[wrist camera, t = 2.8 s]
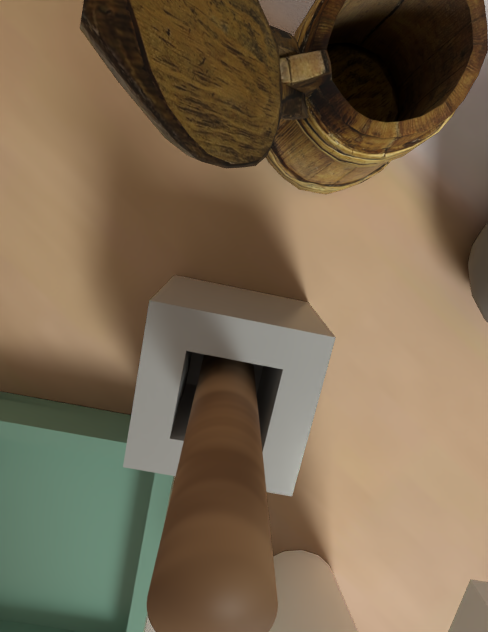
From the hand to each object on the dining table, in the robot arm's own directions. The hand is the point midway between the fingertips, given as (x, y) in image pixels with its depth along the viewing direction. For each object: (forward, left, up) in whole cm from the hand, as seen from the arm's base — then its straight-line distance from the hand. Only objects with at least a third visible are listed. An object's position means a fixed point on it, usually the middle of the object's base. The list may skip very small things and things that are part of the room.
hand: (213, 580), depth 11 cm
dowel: (0, 0, -18) cm, 17 cm away
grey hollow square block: (0, 0, -18) cm, 18 cm away
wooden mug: (+15, -1, -19) cm, 24 cm away
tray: (-16, +10, -19) cm, 27 cm away
